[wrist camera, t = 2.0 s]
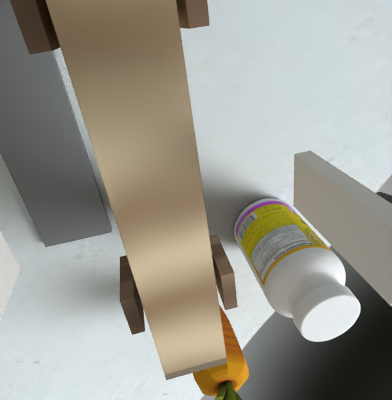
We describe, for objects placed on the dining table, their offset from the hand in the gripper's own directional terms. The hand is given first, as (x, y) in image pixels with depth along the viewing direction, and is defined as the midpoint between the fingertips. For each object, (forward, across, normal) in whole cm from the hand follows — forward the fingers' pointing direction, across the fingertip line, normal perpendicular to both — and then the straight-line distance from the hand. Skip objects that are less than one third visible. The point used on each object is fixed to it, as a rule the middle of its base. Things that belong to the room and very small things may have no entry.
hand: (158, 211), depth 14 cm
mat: (+14, -8, 0) cm, 16 cm away
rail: (+4, 0, 0) cm, 5 cm away
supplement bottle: (+14, +10, -12) cm, 22 cm away
